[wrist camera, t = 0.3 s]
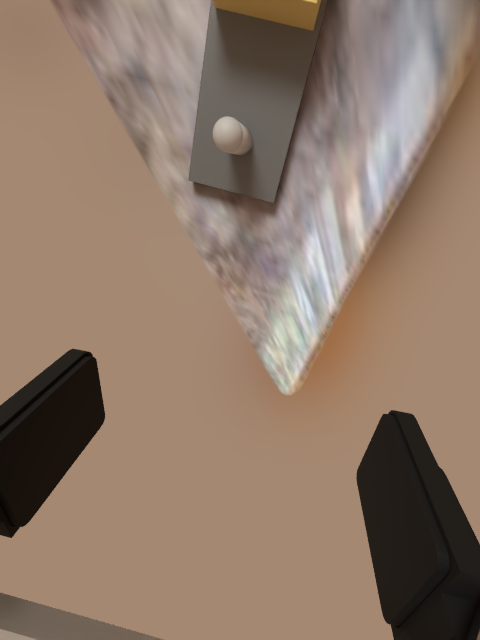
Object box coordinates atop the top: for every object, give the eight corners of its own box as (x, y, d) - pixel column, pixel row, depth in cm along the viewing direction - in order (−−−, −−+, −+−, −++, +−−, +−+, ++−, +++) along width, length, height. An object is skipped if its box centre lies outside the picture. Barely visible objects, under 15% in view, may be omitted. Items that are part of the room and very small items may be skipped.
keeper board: (236, -149, 23) (203, -320, 15) (360, -123, 23) (395, -284, 15) (192, 179, 35) (160, 183, 27) (274, 201, 34) (267, 212, 26)
